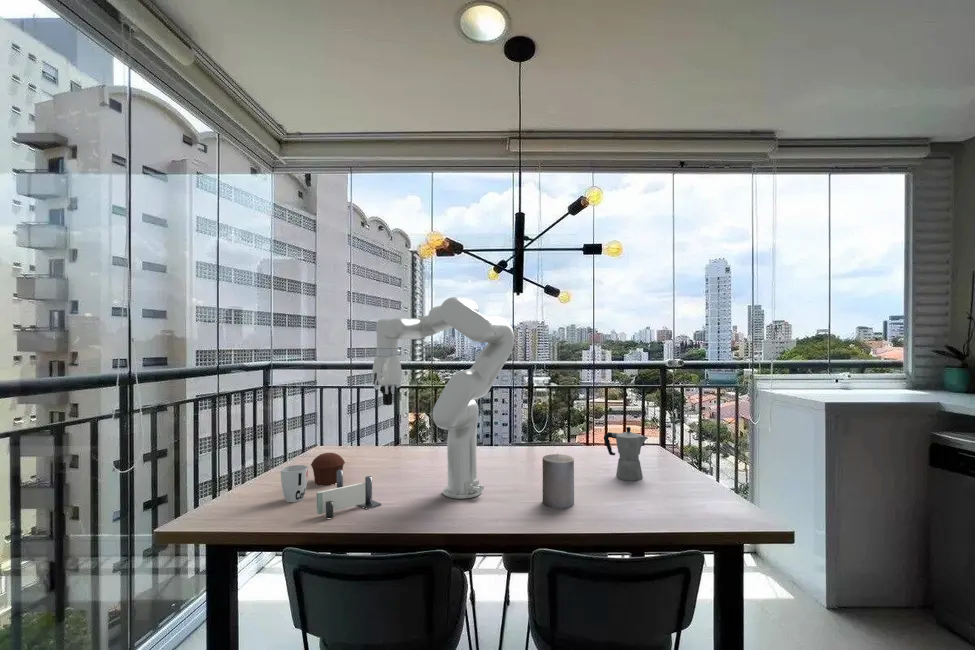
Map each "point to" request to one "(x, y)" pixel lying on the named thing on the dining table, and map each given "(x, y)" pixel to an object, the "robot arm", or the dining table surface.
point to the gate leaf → (341, 497)
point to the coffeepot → (627, 454)
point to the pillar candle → (558, 481)
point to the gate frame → (368, 494)
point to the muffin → (327, 468)
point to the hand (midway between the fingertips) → (387, 404)
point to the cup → (294, 482)
